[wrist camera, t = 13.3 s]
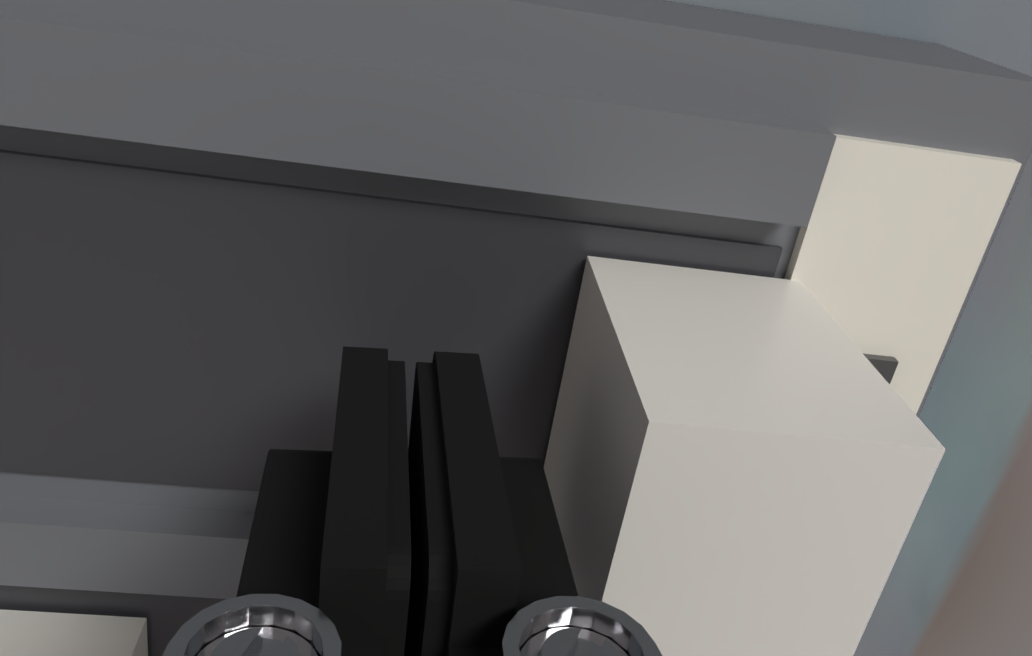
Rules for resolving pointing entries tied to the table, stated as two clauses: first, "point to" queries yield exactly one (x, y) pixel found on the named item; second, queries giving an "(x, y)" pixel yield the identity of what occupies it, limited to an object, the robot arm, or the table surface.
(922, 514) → the table surface
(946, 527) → the table surface
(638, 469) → the tab
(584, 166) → the switch bank
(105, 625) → the tab middle
